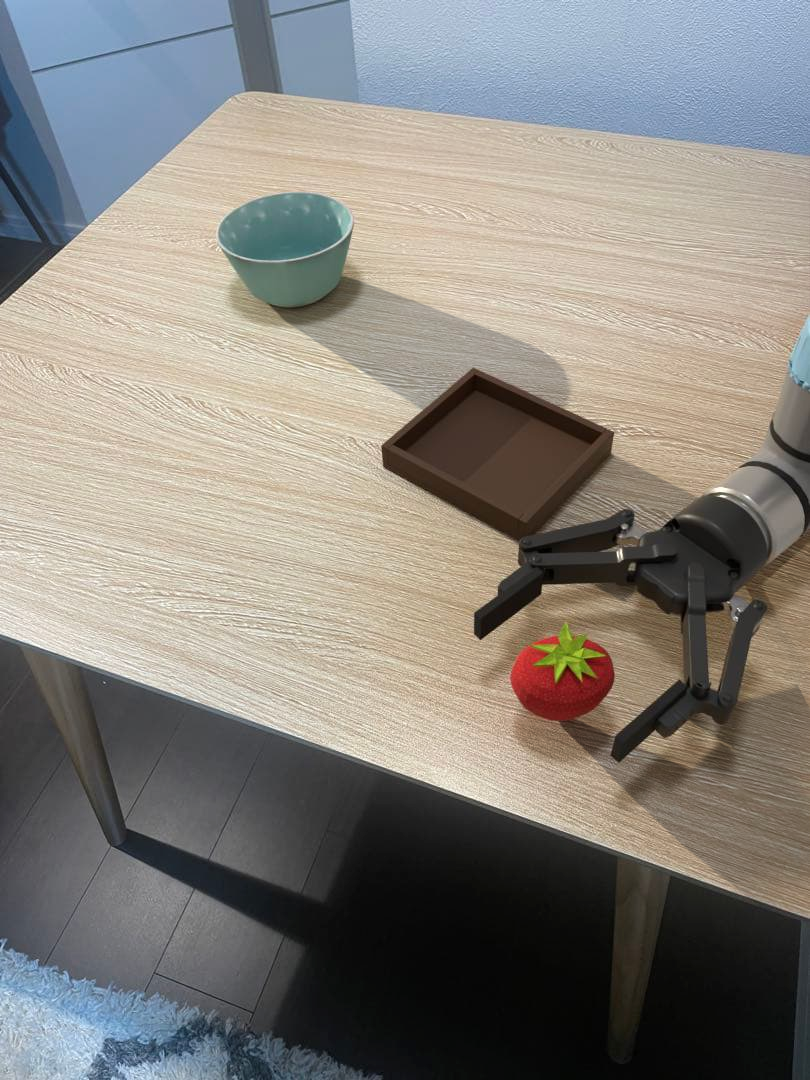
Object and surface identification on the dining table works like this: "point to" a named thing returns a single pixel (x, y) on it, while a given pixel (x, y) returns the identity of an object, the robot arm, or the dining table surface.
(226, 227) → the bowl
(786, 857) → the dining table surface
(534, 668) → the strawberry
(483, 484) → the tray
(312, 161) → the dining table surface
